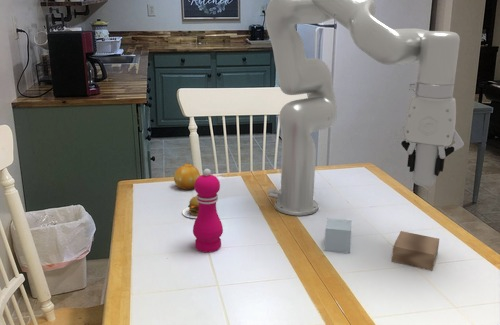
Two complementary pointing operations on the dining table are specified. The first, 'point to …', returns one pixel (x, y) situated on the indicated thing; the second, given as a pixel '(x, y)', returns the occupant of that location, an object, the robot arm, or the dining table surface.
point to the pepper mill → (207, 214)
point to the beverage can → (425, 164)
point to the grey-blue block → (338, 235)
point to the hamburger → (192, 207)
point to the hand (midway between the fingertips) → (424, 171)
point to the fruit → (186, 176)
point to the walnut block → (415, 250)
